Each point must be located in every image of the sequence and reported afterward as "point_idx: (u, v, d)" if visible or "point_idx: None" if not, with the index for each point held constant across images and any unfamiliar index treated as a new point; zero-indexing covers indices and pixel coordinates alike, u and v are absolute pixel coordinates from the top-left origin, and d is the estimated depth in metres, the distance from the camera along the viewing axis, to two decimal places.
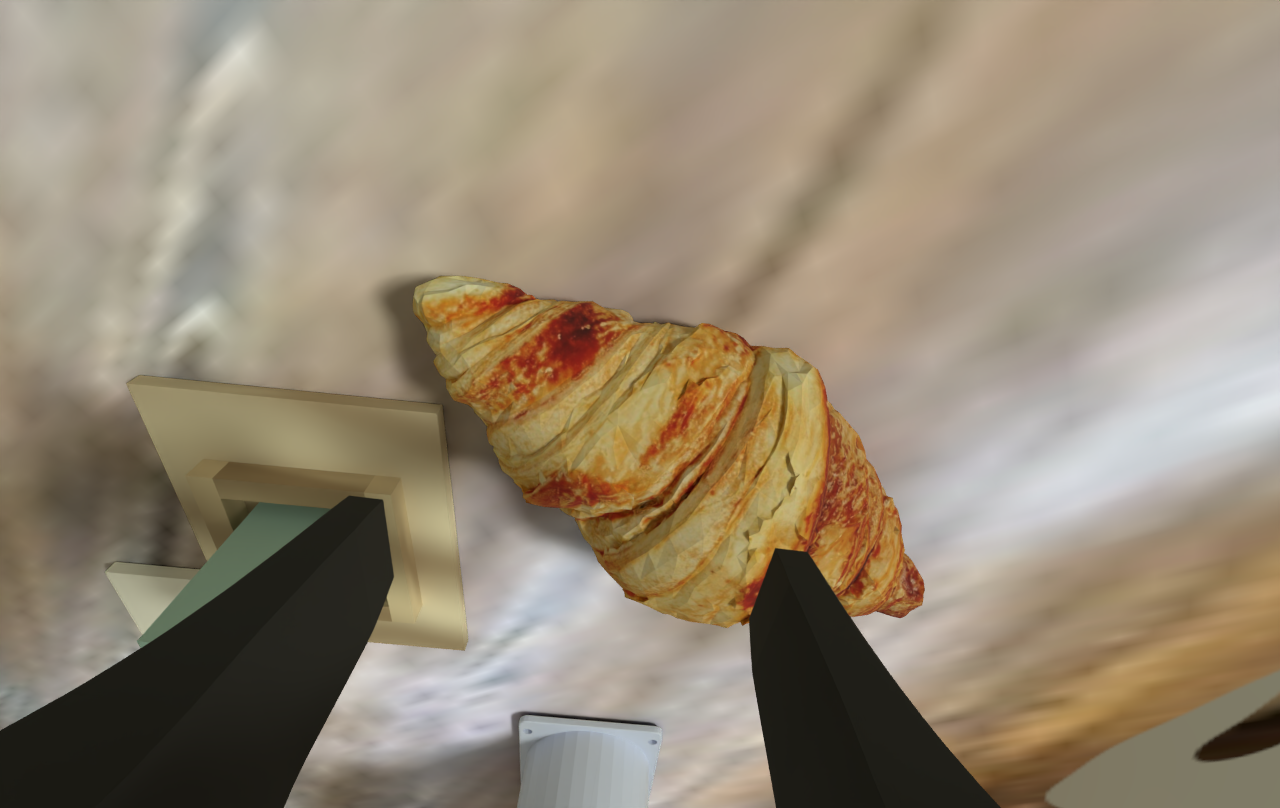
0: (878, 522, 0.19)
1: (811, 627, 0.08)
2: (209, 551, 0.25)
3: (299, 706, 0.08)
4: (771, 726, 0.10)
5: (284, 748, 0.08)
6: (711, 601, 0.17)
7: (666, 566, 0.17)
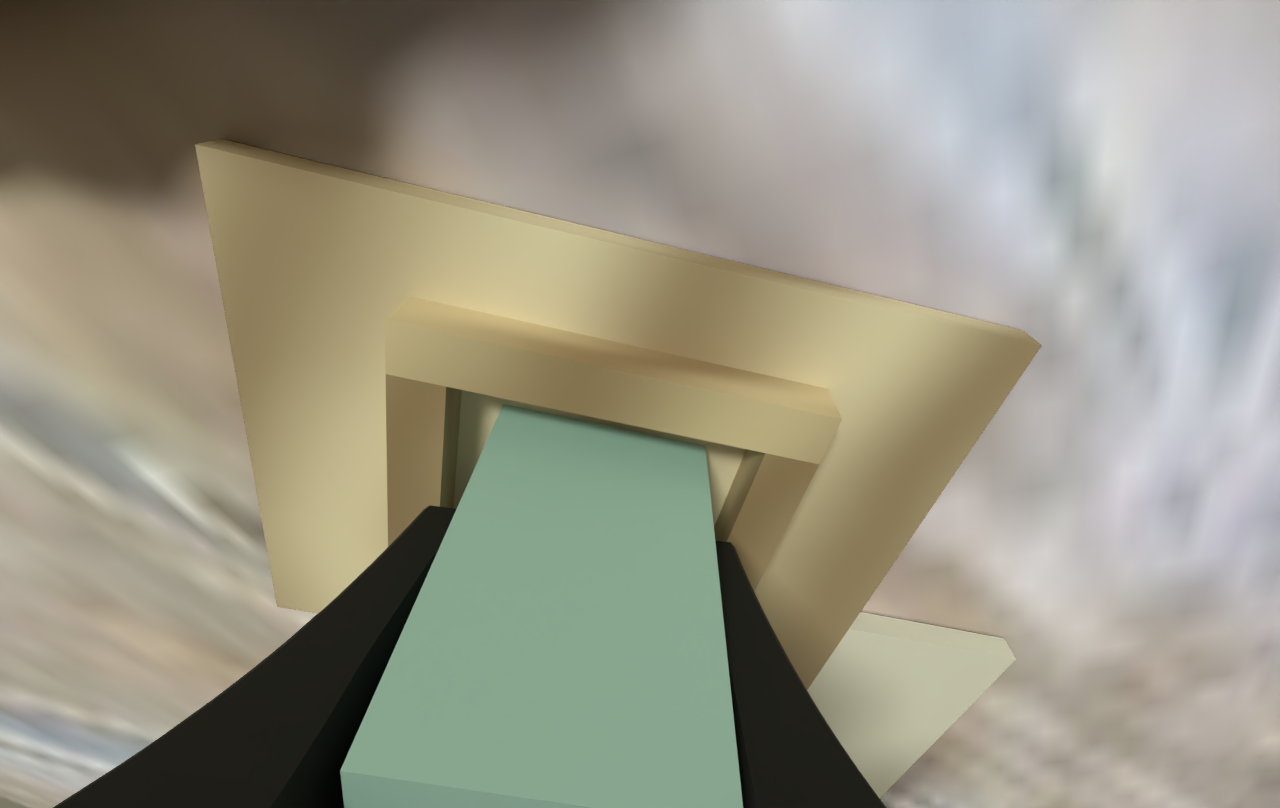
0: None
1: None
2: None
3: None
4: None
5: None
6: None
7: None
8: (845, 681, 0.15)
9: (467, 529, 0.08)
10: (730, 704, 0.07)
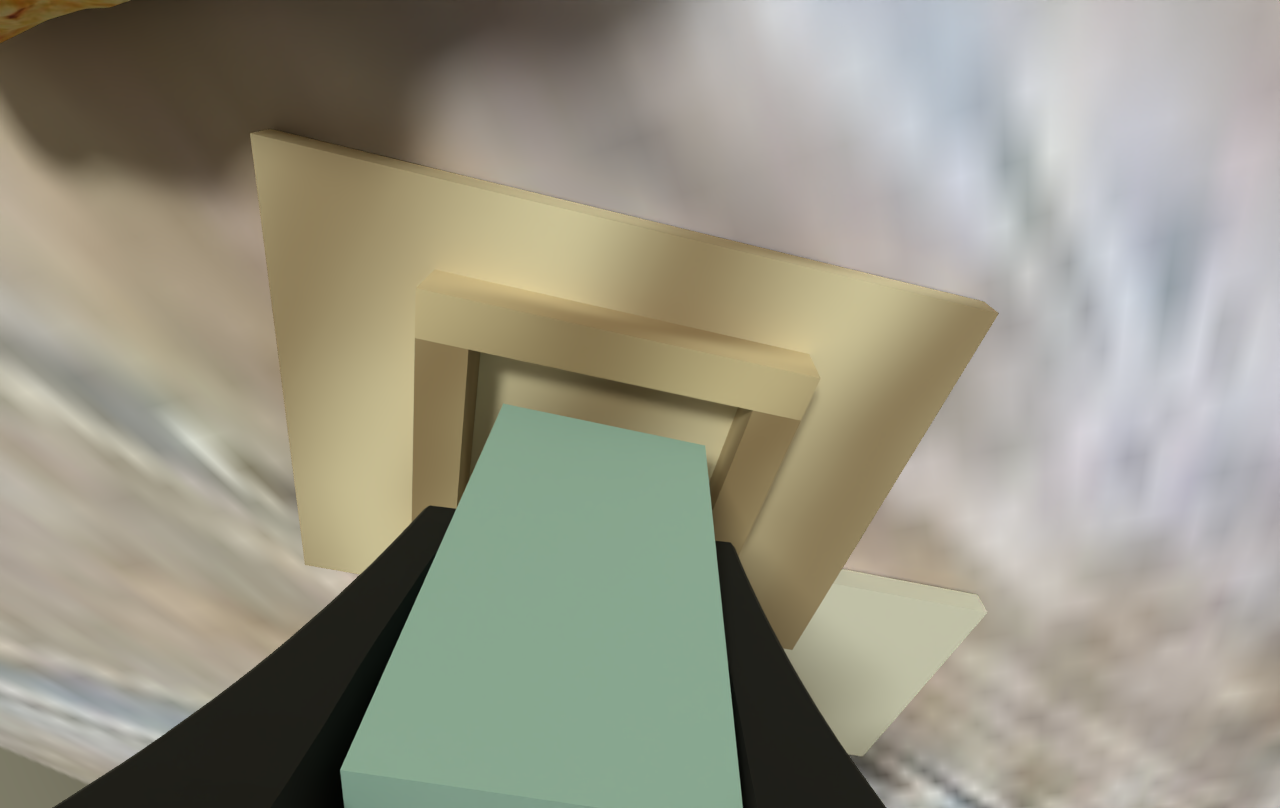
0: None
1: None
2: None
3: None
4: None
5: None
6: None
7: None
8: (830, 635, 0.16)
9: (467, 529, 0.08)
10: (730, 703, 0.07)
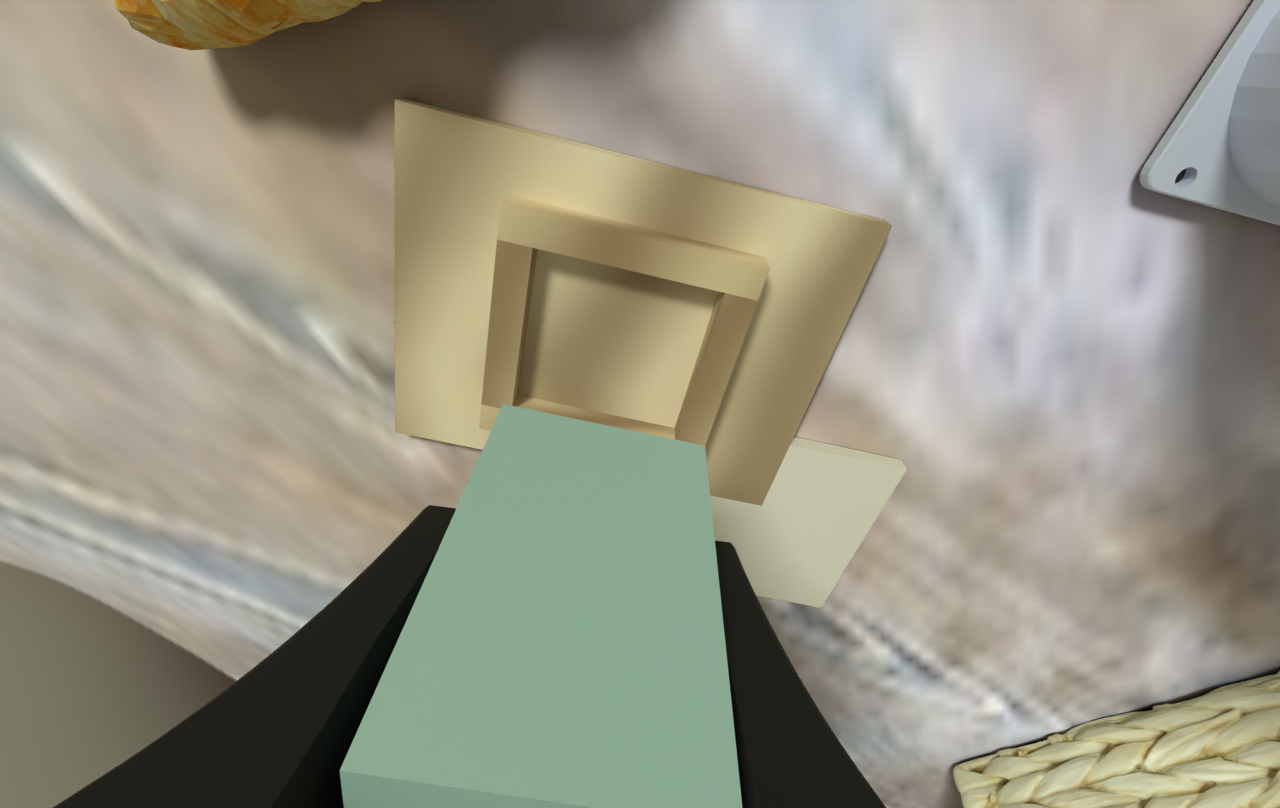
0: None
1: None
2: None
3: None
4: None
5: None
6: None
7: None
8: (790, 492, 0.22)
9: (467, 529, 0.08)
10: (730, 704, 0.07)
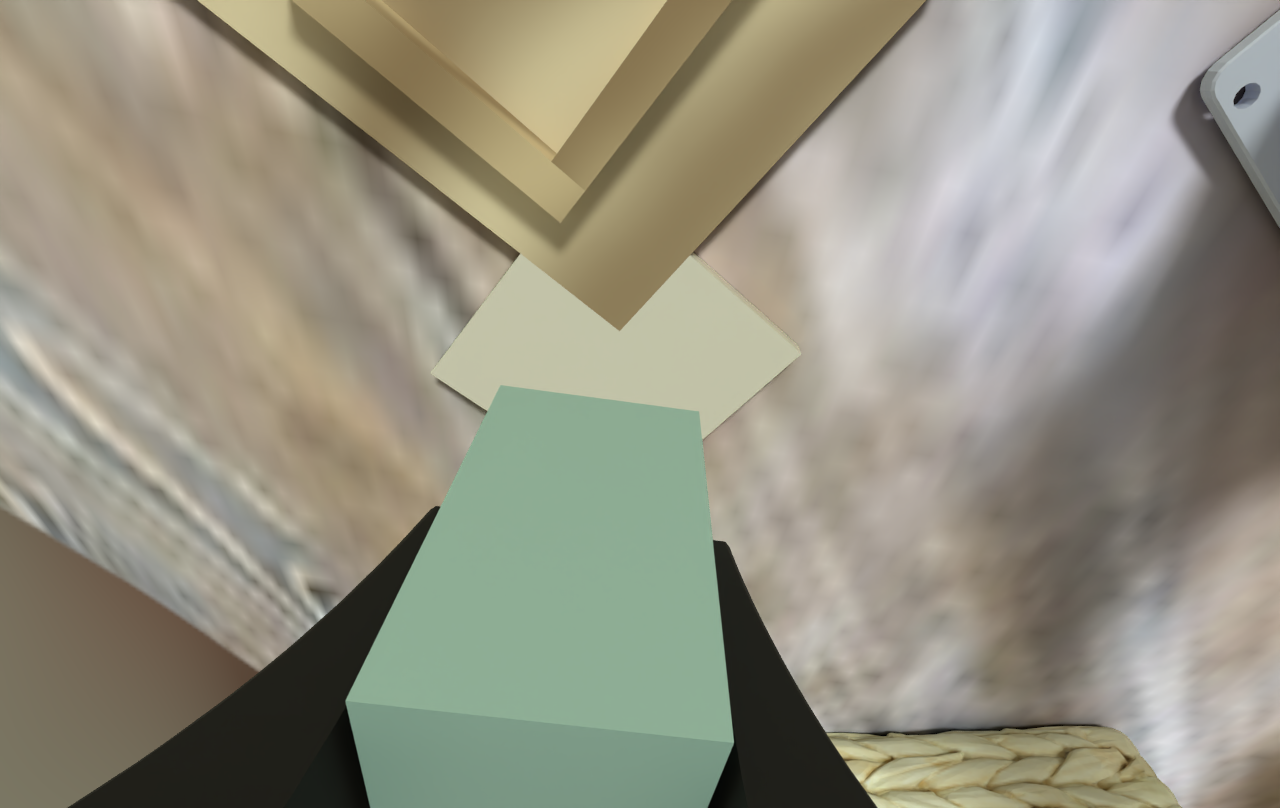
0: None
1: None
2: (462, 193, 0.15)
3: None
4: None
5: None
6: None
7: None
8: (661, 326, 0.17)
9: (465, 494, 0.09)
10: (720, 635, 0.07)
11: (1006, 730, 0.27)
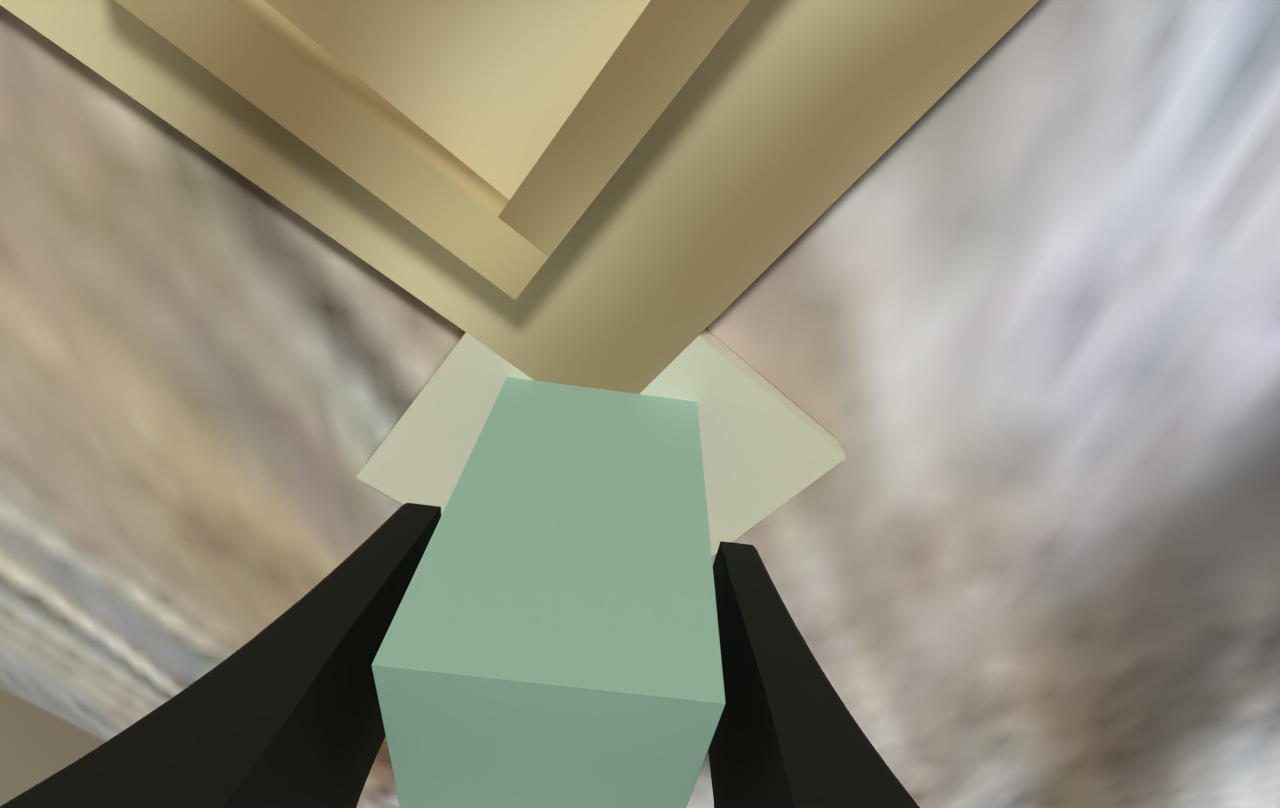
0: None
1: (744, 619, 0.08)
2: (380, 254, 0.11)
3: (369, 713, 0.08)
4: None
5: (356, 756, 0.08)
6: None
7: None
8: None
9: (476, 479, 0.09)
10: (714, 608, 0.08)
11: None
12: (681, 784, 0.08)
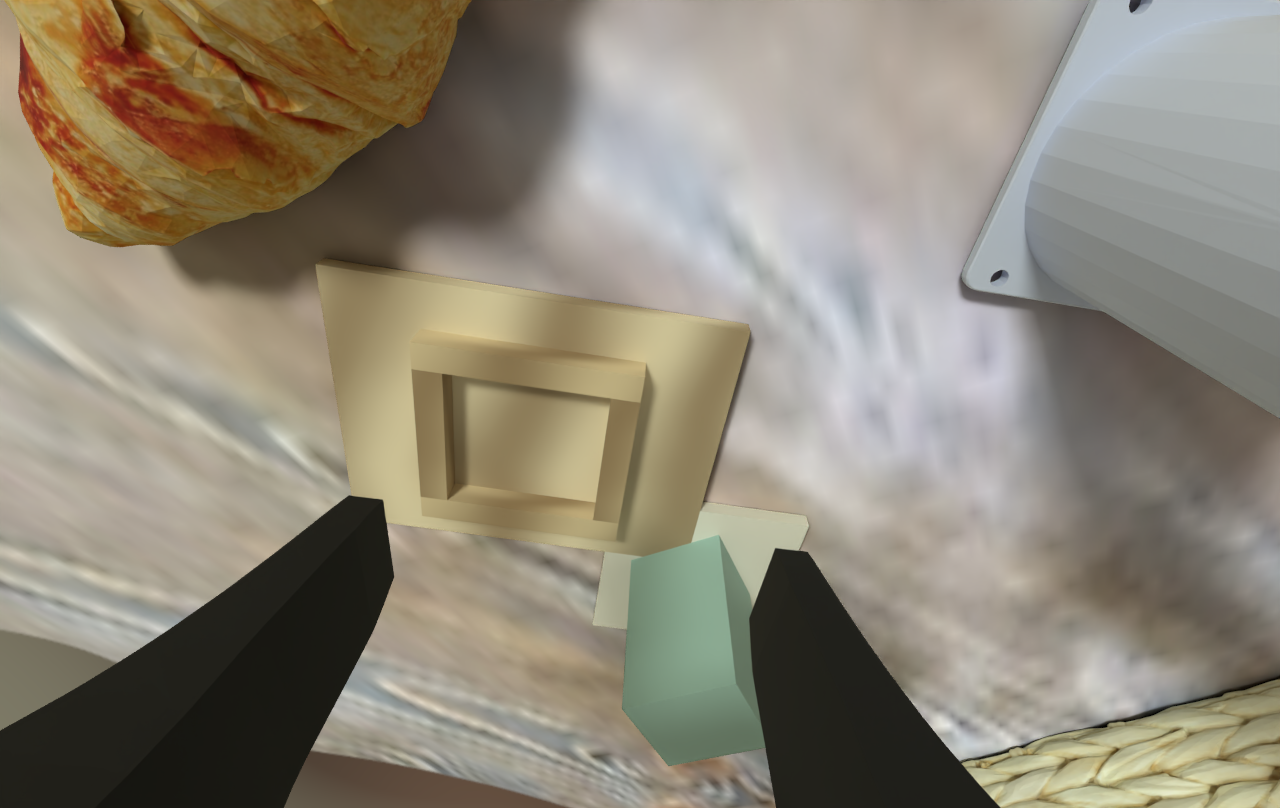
0: None
1: (811, 627, 0.08)
2: (558, 540, 0.24)
3: (299, 706, 0.08)
4: (771, 726, 0.10)
5: (284, 748, 0.08)
6: None
7: None
8: None
9: (633, 624, 0.22)
10: (730, 647, 0.19)
11: (1226, 695, 0.29)
12: (750, 716, 0.19)
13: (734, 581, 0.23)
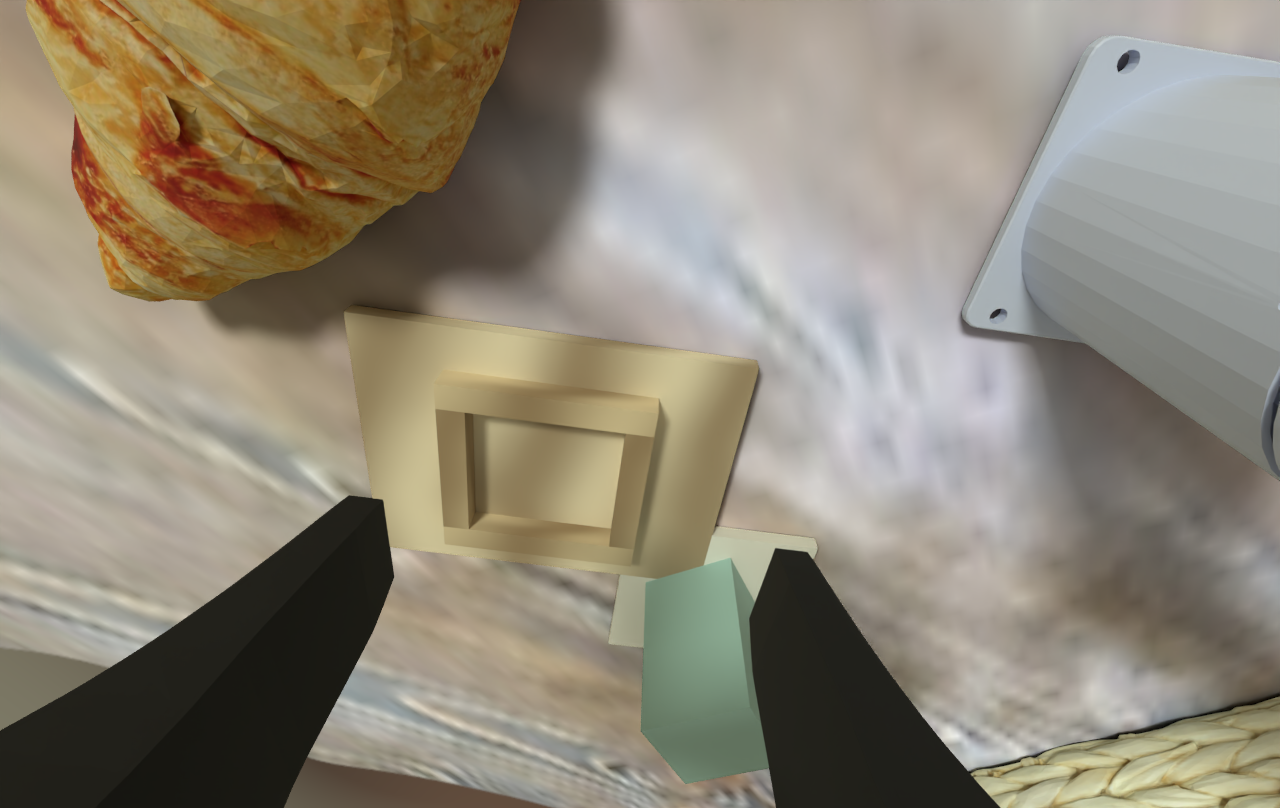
0: None
1: (811, 627, 0.08)
2: (574, 564, 0.25)
3: (299, 705, 0.08)
4: (771, 726, 0.10)
5: (284, 748, 0.08)
6: None
7: (201, 46, 0.10)
8: None
9: (649, 646, 0.23)
10: (744, 671, 0.20)
11: (1236, 709, 0.29)
12: None
13: (746, 602, 0.24)
